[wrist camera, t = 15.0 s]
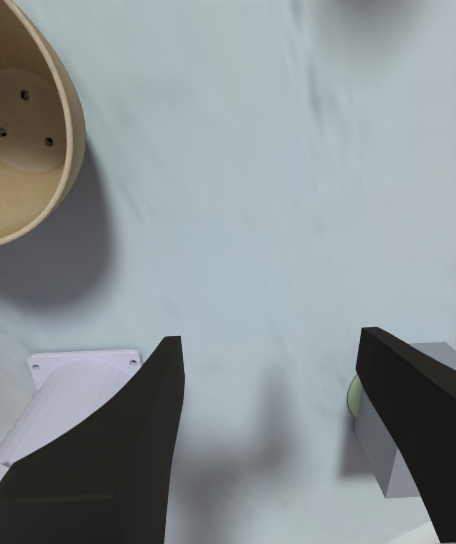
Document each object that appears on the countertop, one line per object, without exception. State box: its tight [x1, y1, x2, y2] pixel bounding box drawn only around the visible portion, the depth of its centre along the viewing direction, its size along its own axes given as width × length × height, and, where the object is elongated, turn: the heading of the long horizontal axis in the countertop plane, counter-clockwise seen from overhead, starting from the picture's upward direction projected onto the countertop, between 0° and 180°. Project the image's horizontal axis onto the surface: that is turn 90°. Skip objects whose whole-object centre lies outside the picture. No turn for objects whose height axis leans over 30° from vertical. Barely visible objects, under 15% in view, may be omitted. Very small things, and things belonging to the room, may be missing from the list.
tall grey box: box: [354, 342, 456, 498], centre depth 23 cm, size 9×6×6 cm
